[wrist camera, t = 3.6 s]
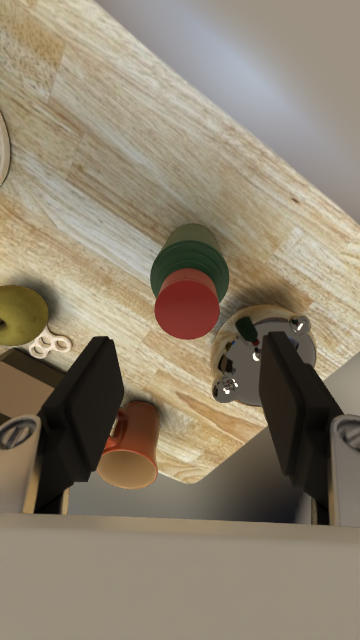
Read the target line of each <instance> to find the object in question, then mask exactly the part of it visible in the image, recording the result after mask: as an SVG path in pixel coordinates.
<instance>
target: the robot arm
mask: <svg viewBox="0 0 360 640" xmlns="http://www.w3.org/2000/svg"><path fill="white" fill-rule="evenodd" d="M9 162H10V144H9V138H8V133H7V129H6V125H5V123H4V120H3V118H2V115H1V112H0V185H1V184H2V182H3V181H4V179H5V177H6V175H7V171H8V168H9ZM258 389H259V397H260V400H261V403H262V407H263V410H264V413H265V416H266V420H267V423H268V426H269V430H270V433H271V436H272V440H273V443H274V446H275V449H276V453H277V456H278V459H279V462H280V466H281V469H282V472H283V474H284V476H289V478H290V480H291V484H292V487H296V488H303V491H304V492H306V493H307V494H308V495H310V496H311V525H306V524H305V525H304V524H284V523H261V522H260V523H259V522H238V521H216V520H192V519H167V518H141V517H113V516H86V515H68V502H69V487H70V486H72V485H73V484H74V482H88V479H89V477H90V474H91V472H93V471H95V470H96V469H97V467H98V464H99V461H100V459H101V456H102V453H103V451H104V448H105V445H106V443H107V440H108V437H109V435H110V432H111V429H112V427H113V424H114V421H115V419H116V416H117V413H118V411H119V408H120V405H121V403H122V400H123V397H124V386H123V381H122V376H121V372H120V367H119V363H118V358H117V354H116V349H115V344H114V341H113V340H112V339H109V337H108V336H97V337H93V338H92V339H91V341H90V342H89V343H88V345H87V346H86V347H85V349H84V350H83V352H82V353H81V354H80V356H79V357H78V358H77V360H76V361H75V362H74V364H73V365H72V366H71V368H70V369H69V370H68V372H67V373H66V374H65V376H64V377H63V378H62V380H61V381H60V382H59V384H58V385H57V386H56V388H55V389H54V390H53V392H52V393H51V394H50V396H49V397H48V398H47V400H46V401H45V402H44V404H43V405H42V406H41V409H40V411H39V412H38V413H37V415H32V414H26V415H21V416H18V417H15V418H12V419H11V420H9V421H7V422H5V423H4V424H2V425H1V426H0V640H360V416H356V415H350V414H347V415H344V413H343V412H342V410H341V409H340V407H339V406H338V404H337V403H336V402H335V400H334V398H333V397H332V395H331V394H330V392H329V391H328V389H327V388H326V386H325V385H324V383H323V382H322V380H321V379H320V377H319V376H318V374H317V373H316V371H315V370H314V368H313V367H312V365H311V364H309V363H304V362H303V360H302V359H301V357H300V356H299V354H298V352H297V351H296V349H295V348H294V346H293V344H292V343H291V341H290V340H289V338H288V337H287V335H286V333H285V332H284V331H269V332H268V335H264V336H263V340H262V352H261V364H260V376H259V388H258Z"/></svg>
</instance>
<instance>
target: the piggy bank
mask: <svg viewBox="0 0 360 640" xmlns="http://www.w3.org/2000/svg"><path fill="white" fill-rule="evenodd" d="M310 329H311V324H310V320H309V318H308V317H307V316H305V315H303V314H294V313H293V312H291V311H289V310H287V309H285V308H282V307H279V306H275V305H269V304H258V305H252V306H249V307H248V306H247V305H241V306H239V307H238V308H237V310H236V313H235V314H233V315H232V316H231V317H230V318H229V319H228V320H227V321H226V322H225V323H224V324H223V326H222V327H221V329H220V330H219V332H218V334H217V336H216V338H215V340H214V343H213V346H212V350H211V357H210V363H211V370H212V374H213V377H214V381H213V384H212V394H213V397H214V398H215V400H216V401H218V402H220V403H228V402H231V401H233V400H234V401H236V402H238V403H240V404H243V405H246V406H251V407H262V403H261V400H260V397H259V389H258V388H259V376H260V364H261V352H262V340H263V336H264V335H268V332H269V331H284V332H285V333H286V335H287V337H288V338H289V340H290V341H291V343H292V344H293V346H294V348H295V349H296V351H297V352H298V354H299V356H300V357H301V359H302V360H303V362H304V363H309V364H311V365H312V367H313V368H314V367H315V364H316V360H317V346H316V342H315V339H314V336H313V334H312V332H311V330H310ZM262 408H263V407H262ZM263 412H264V410H263ZM264 416H265V413H264ZM265 419H266V416H265ZM266 421H267V420H266Z"/></svg>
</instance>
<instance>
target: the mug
mask: <svg viewBox="0 0 360 640" xmlns="http://www.w3.org/2000/svg"><path fill="white" fill-rule="evenodd" d="M159 431H160V414H159V412H158V410H157V409H156V408H155V407H154V406H153V405H151V404H149V403H147V402H143V401H133V402H129V403H127V404H126V405H124V406H123V408H121V407H120V408H119V411H118V413H117V416H116V422H115V425H114V428H113V431H112V434H111V436H110V435H109V437H108V440H107V443H106V445H105V449H104V451H103V453H102V456H101V459H100V461H99V464H98V467H97V469H96V470H97V472H98V474H99V475H100V477H102V479H104V480H105V481H106V482H108V483H110V484H112V485H114V486H117V487H121V488H126V489H139V488H143V487H146V486H148V485H150V484H151V483H153V482H154V481H155V479H156V478H157V474H158V469H157V463H156V447H157V442H158V437H159Z"/></svg>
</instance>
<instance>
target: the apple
mask: <svg viewBox="0 0 360 640" xmlns="http://www.w3.org/2000/svg"><path fill="white" fill-rule="evenodd" d="M48 317H49V312H48V306H47V304H46V302H45V301H44V299H43V298H42V297H41V296H40V295H39V294H38V293H37V292H35V291H34V290H32V289H29V288H26V287H22V286H16V285H5V286H0V345H5V346H18V345H23V344H26V343H29V342H31V341H32V340H34V339H35V338H37V337H38V336H39V335H40V334H41V333H42V332H43V330H44V329H45V327H46V325H47V322H48Z"/></svg>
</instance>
